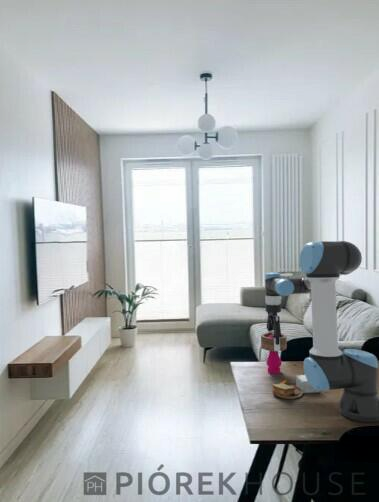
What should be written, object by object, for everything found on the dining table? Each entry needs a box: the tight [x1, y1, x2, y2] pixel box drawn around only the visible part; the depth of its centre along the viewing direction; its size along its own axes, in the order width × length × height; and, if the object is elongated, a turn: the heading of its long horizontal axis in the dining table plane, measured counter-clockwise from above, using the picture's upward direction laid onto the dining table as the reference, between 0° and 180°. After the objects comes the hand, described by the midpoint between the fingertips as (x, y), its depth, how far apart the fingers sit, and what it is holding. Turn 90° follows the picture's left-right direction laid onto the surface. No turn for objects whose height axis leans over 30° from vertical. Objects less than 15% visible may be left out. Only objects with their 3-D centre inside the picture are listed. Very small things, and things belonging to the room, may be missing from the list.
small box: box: [295, 374, 320, 394], centre depth 163 cm, size 8×8×5 cm
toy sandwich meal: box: [271, 379, 304, 400], centre depth 158 cm, size 12×14×5 cm
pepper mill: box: [266, 331, 282, 375], centre depth 184 cm, size 7×7×20 cm
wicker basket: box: [260, 332, 288, 352], centre depth 184 cm, size 12×12×6 cm
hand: (273, 347), depth 184 cm, fingers closed on wicker basket, 12 cm apart
